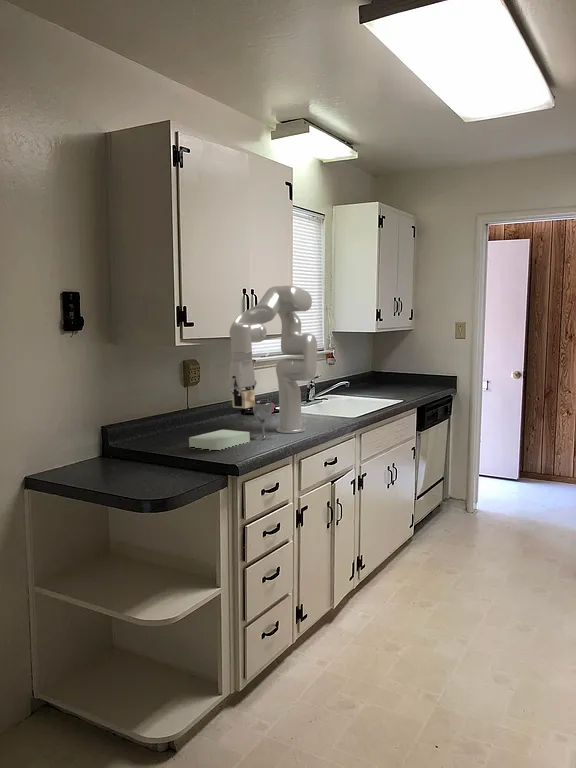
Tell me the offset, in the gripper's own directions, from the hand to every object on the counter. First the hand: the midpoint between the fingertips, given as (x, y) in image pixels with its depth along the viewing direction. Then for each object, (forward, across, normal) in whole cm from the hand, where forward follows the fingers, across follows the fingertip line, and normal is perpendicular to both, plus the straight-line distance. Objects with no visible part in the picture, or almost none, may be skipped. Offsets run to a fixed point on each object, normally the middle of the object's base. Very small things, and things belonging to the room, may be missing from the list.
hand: (243, 404), depth 235 cm
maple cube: (+1, 0, 0) cm, 1 cm away
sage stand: (+17, -2, -14) cm, 22 cm away
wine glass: (+17, -20, -6) cm, 27 cm away
